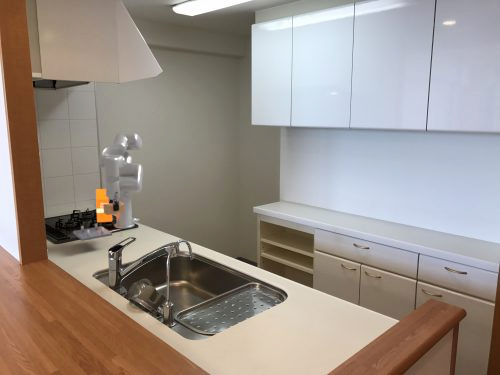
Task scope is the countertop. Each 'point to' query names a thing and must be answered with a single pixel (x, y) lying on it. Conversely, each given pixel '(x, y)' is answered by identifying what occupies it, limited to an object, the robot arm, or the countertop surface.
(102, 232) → the pin tray
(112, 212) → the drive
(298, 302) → the countertop surface
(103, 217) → the orange juice
